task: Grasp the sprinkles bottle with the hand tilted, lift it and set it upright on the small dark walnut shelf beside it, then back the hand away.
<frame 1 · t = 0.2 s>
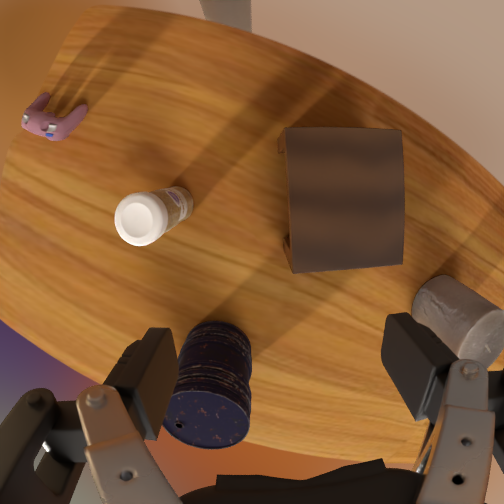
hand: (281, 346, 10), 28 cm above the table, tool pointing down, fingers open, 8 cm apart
pillar candle: (435, 302, 40), on the table
sprinkles bottle: (176, 203, 37), on the table
video game controller: (61, 117, 33), on the table
navy ridged cylinder: (217, 348, 42), on the table
shelf: (328, 193, 36), on the table
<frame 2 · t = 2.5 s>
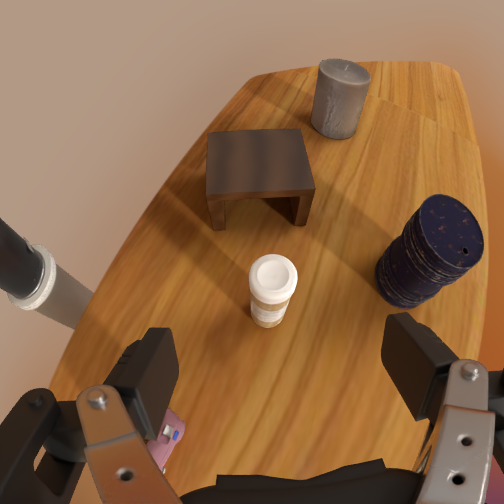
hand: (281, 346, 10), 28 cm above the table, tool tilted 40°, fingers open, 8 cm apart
pillar candle: (332, 125, 56), on the table
sprinkles bottle: (267, 312, 40), on the table
video game controller: (160, 439, 32), on the table
navy ridged cylinder: (402, 279, 42), on the table
shelf: (257, 196, 48), on the table
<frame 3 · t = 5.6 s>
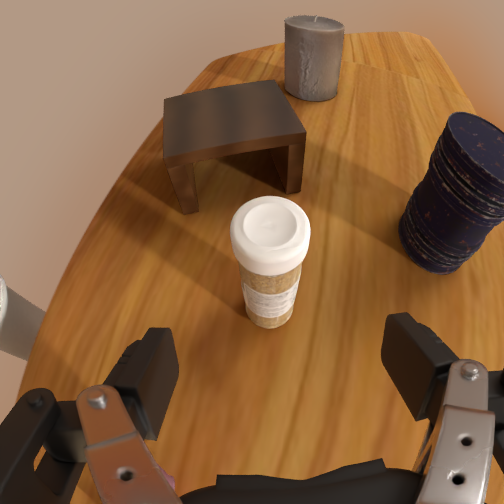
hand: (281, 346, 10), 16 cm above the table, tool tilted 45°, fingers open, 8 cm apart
pillar candle: (310, 89, 48), on the table
sprinkles bottle: (269, 308, 28), on the table
navy ridged cylinder: (432, 239, 31), on the table
shelf: (233, 168, 38), on the table
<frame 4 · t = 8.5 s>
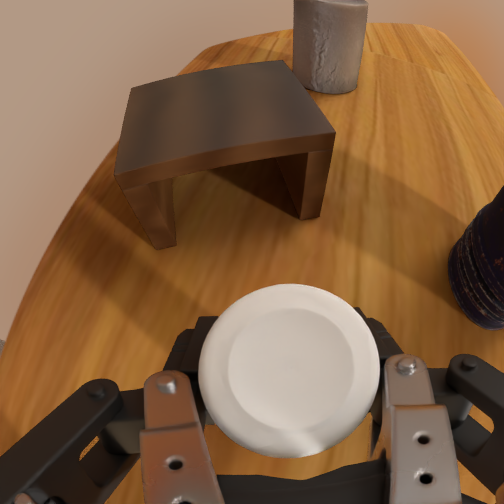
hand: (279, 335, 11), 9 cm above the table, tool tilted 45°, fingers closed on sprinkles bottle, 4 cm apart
pillar candle: (324, 80, 38), on the table
sprinkles bottle: (275, 395, 18), on the table, touching gripper
navy ridged cylinder: (486, 281, 21), on the table
shelf: (226, 181, 28), on the table
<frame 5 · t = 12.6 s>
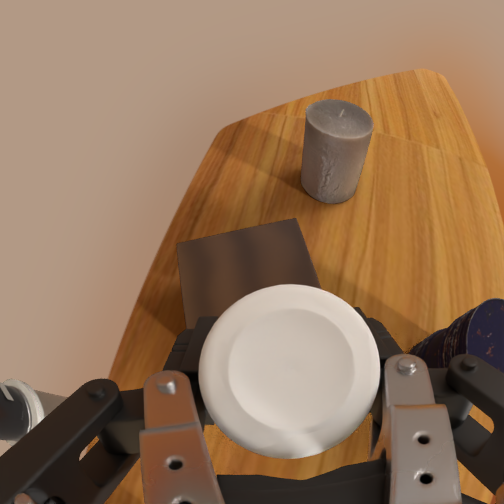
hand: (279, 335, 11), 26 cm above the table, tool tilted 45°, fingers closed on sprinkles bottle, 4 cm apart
pillar candle: (328, 183, 49), on the table
sprinkles bottle: (276, 395, 18), point 16 cm above the table, touching gripper
navy ridged cylinder: (431, 373, 32), on the table
shelf: (252, 306, 39), on the table
when the fingers open (18 cm above the table, at t = 16.9 s): sprinkles bottle stays where it is, resting on shelf.
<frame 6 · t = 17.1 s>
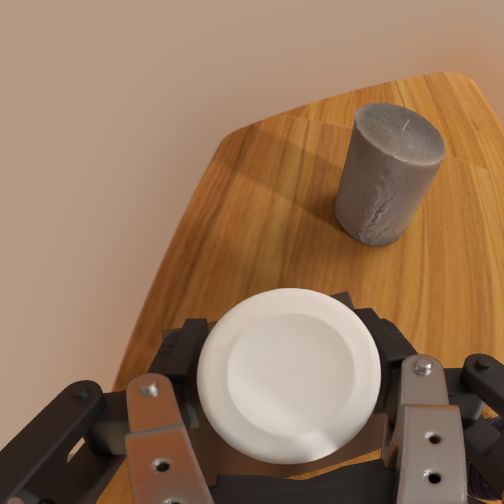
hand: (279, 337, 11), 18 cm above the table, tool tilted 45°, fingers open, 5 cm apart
pillar candle: (369, 215, 36), on the table
sprinkles bottle: (276, 397, 18), point 9 cm above the table, touching shelf
navy ridged cylinder: (480, 456, 19), on the table
shelf: (273, 399, 26), on the table
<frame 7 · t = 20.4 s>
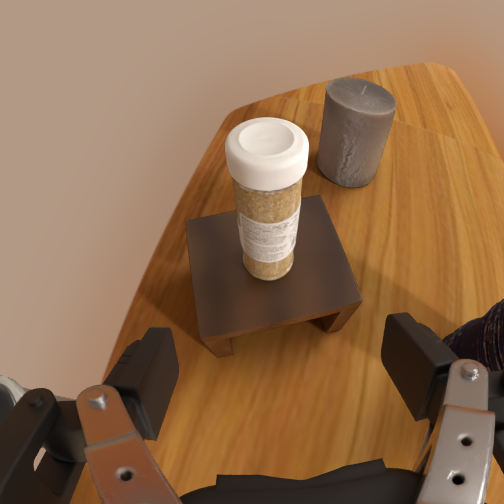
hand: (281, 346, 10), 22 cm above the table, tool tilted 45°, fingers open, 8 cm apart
pillar candle: (345, 167, 45), on the table
sprinkles bottle: (268, 260, 27), point 9 cm above the table, touching shelf
navy ridged cylinder: (460, 368, 28), on the table
shelf: (268, 295, 35), on the table
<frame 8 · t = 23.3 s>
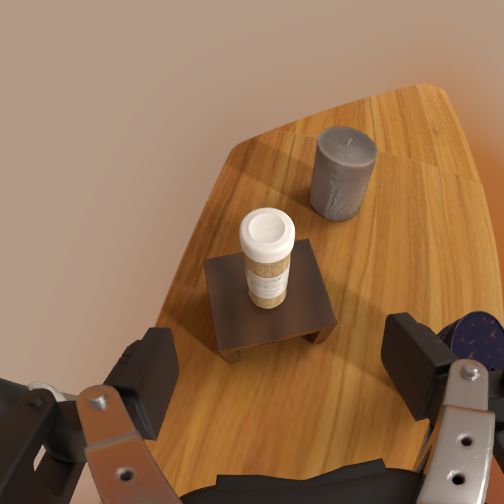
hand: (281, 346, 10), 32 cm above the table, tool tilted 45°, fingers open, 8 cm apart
pillar candle: (334, 201, 54), on the table
sprinkles bottle: (267, 292, 36), point 9 cm above the table, touching shelf
navy ridged cylinder: (424, 373, 37), on the table
shelf: (267, 314, 44), on the table
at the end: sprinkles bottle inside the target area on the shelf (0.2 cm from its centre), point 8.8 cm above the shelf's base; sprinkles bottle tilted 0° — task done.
